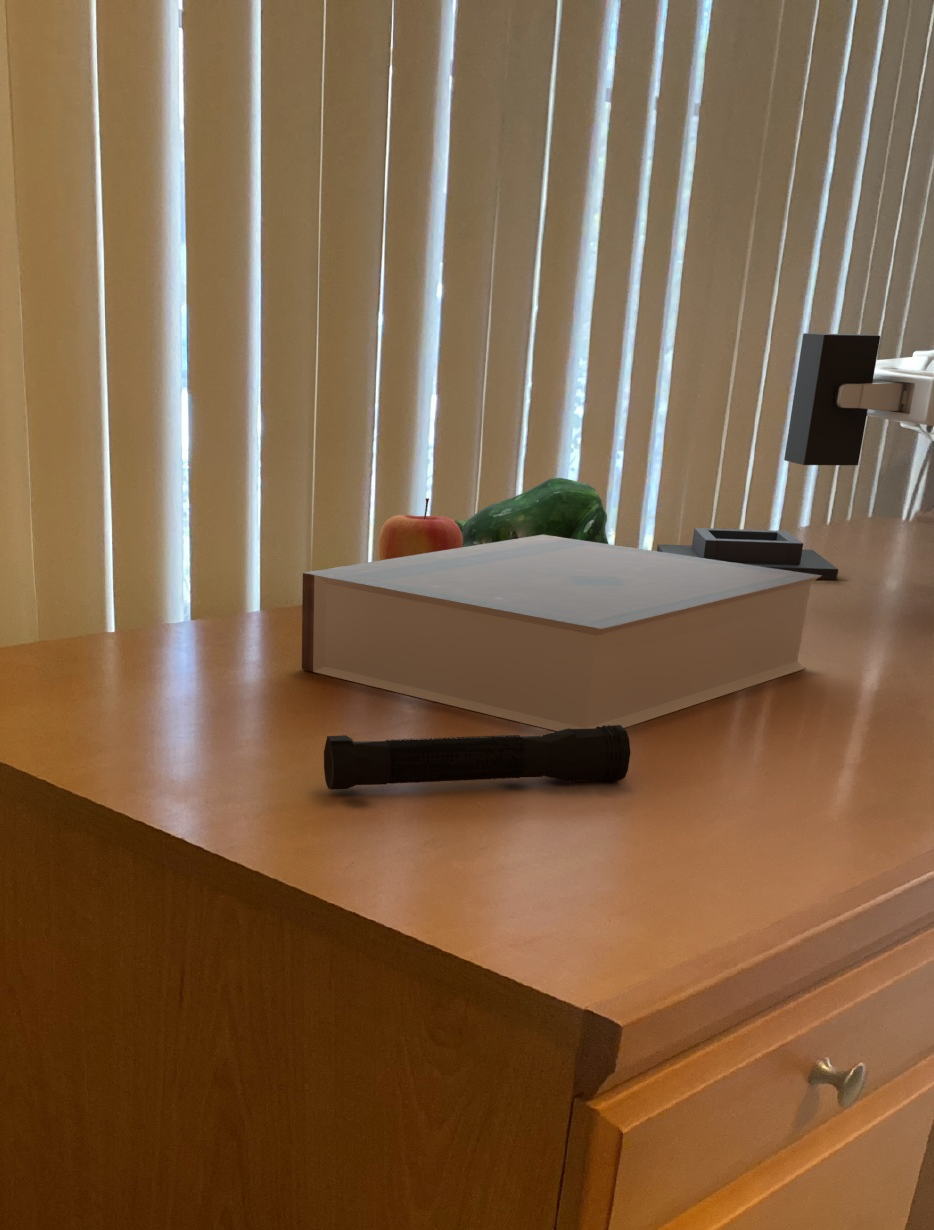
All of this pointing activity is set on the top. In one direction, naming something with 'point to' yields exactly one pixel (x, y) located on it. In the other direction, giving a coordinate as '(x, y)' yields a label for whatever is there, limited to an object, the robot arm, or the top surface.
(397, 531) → the apple
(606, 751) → the flashlight
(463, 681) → the book
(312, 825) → the top surface
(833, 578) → the base pad
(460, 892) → the top surface
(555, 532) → the green pepper
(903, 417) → the robot arm
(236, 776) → the top surface
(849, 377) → the dark grey block
